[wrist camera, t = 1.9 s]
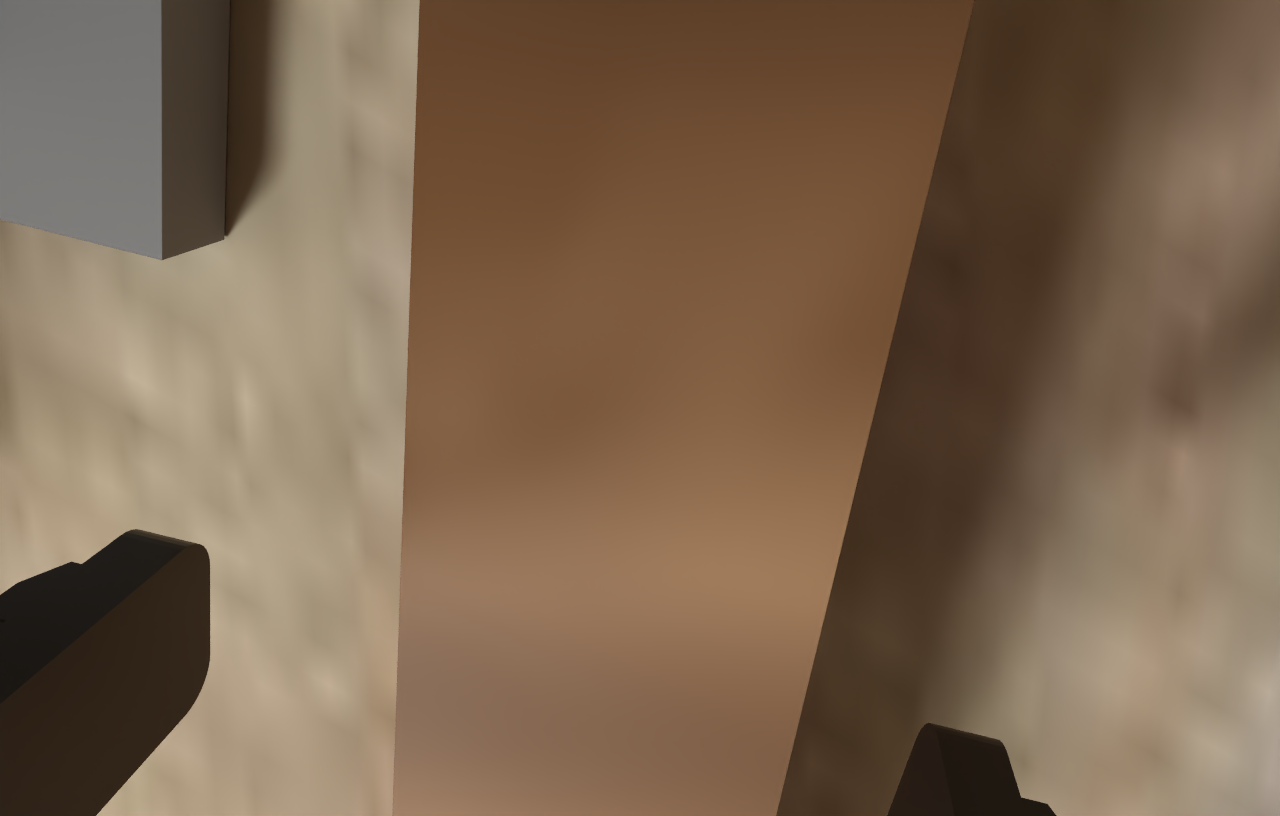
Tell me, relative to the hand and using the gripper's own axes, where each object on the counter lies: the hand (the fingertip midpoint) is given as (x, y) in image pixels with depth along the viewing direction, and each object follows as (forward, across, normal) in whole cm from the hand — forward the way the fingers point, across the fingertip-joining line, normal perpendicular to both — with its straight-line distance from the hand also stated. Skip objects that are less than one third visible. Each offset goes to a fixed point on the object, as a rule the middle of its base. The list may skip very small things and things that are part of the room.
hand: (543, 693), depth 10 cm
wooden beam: (+5, -1, 0) cm, 5 cm away
